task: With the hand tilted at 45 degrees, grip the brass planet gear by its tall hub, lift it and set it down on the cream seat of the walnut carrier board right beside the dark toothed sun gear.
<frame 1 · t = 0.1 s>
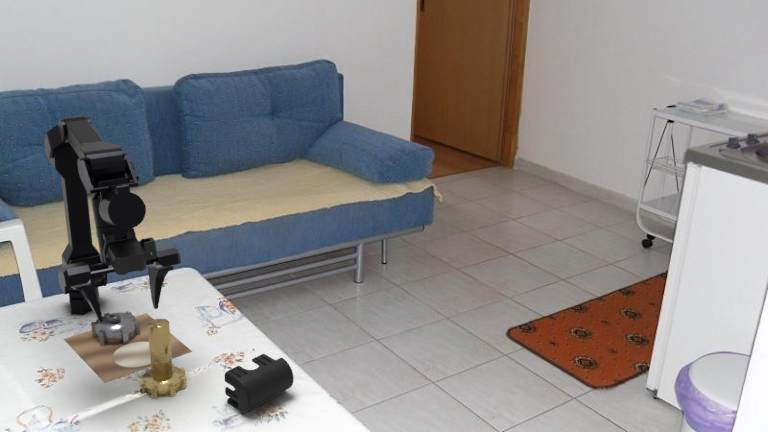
hand: (128, 314, 129), 15 cm above the table, tool pointing down, fingers open, 9 cm apart
planet gear: (163, 385, 137), on the table
sun gear: (116, 335, 150), resting on carrier board
end cap: (259, 401, 134), on the table
carrier board: (127, 351, 147), on the table
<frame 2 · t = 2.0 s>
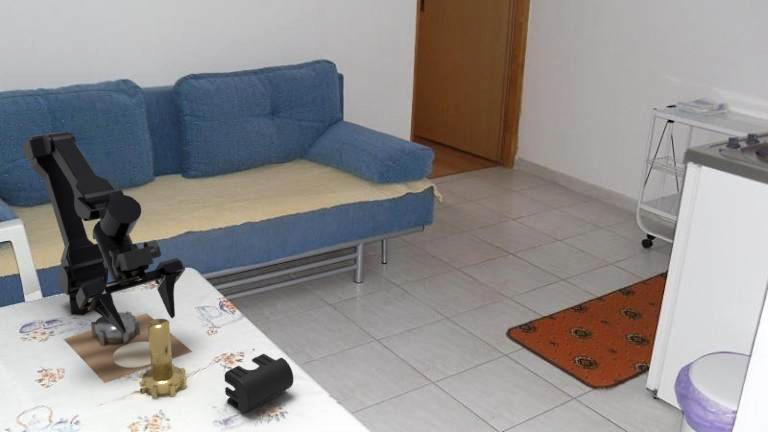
hand: (149, 325, 136), 11 cm above the table, tool tilted 45°, fingers open, 9 cm apart
nothing on the table moved.
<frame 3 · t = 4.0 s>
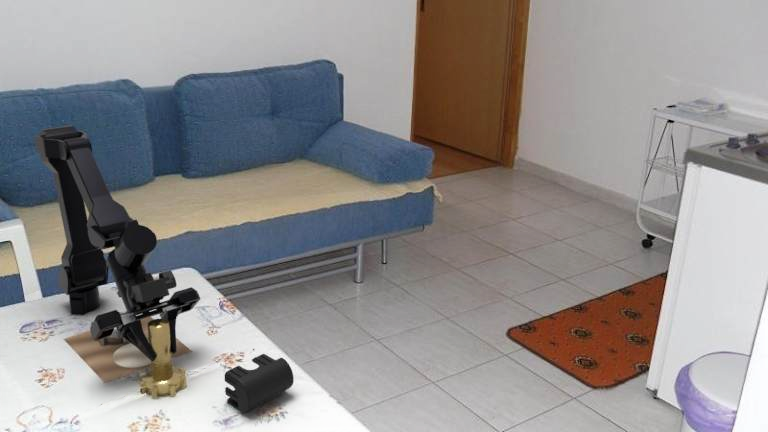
hand: (164, 356, 133), 7 cm above the table, tool tilted 45°, fingers closed on planet gear, 4 cm apart
planet gear: (163, 385, 137), on the table, touching gripper
everything else where it was.
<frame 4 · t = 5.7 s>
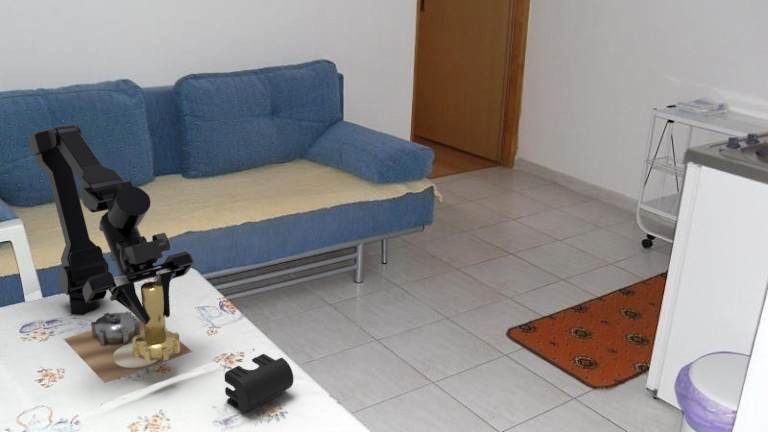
hand: (157, 319, 132), 13 cm above the table, tool tilted 45°, fingers closed on planet gear, 4 cm apart
planet gear: (156, 349, 135), point 7 cm above the table, touching gripper
everything else where it was.
when the fingers open (9 cm above the table, at t = 7.8 s): planet gear drops 1 cm, resting on carrier board.
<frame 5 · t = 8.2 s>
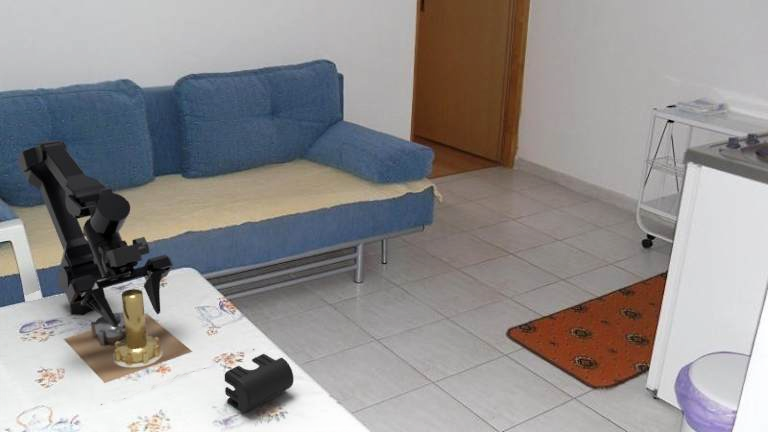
hand: (137, 319, 139), 10 cm above the table, tool tilted 45°, fingers open, 8 cm apart
planet gear: (137, 353, 143), point 2 cm above the table, touching carrier board
everything else where it was.
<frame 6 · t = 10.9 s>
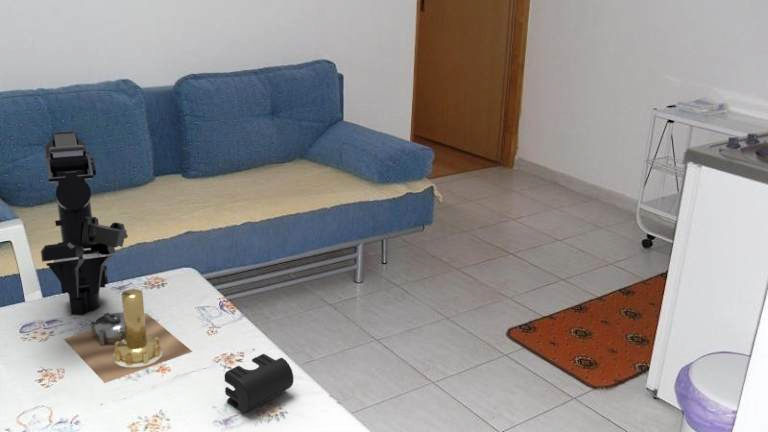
hand: (85, 296, 143), 12 cm above the table, tool tilted 25°, fingers open, 9 cm apart
nothing on the table moved.
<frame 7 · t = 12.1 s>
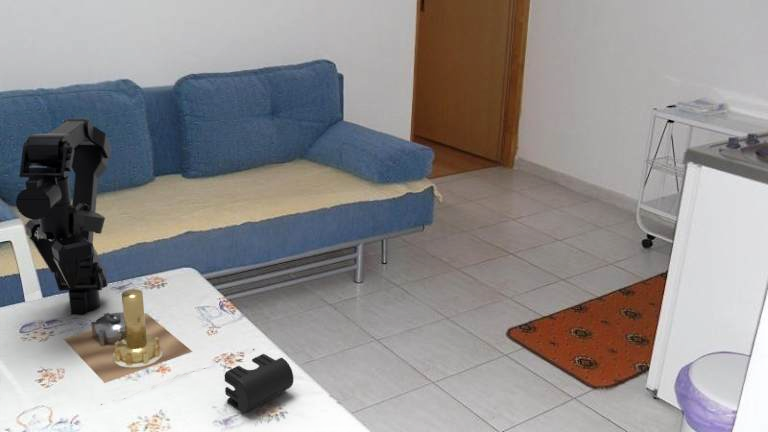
hand: (63, 279, 146), 13 cm above the table, tool pointing down, fingers open, 9 cm apart
nothing on the table moved.
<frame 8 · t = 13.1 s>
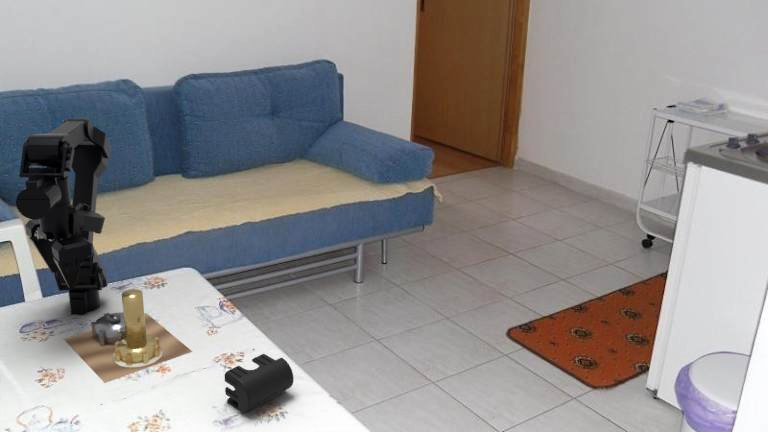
hand: (63, 279, 146), 13 cm above the table, tool pointing down, fingers open, 9 cm apart
nothing on the table moved.
at the end: planet gear 0.1 cm from the target spot, point 1.8 cm above the table; planet gear tilted 0°; the gripper is holding nothing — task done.
